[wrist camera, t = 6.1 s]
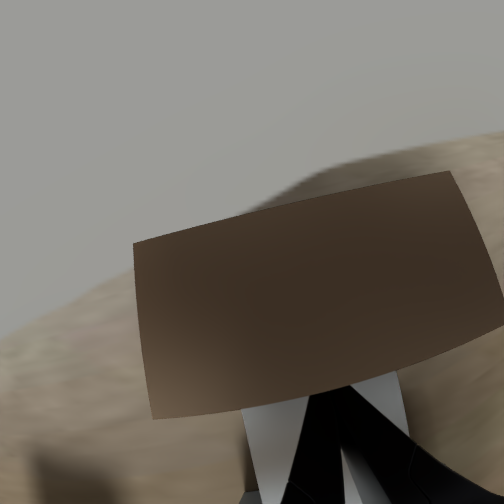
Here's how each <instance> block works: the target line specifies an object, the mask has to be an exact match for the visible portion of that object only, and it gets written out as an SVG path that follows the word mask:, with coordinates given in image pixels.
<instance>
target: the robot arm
mask: <svg viewBox="0 0 504 504" xmlns="http://www.w3.org/2000/svg"><path fill="white" fill-rule="evenodd" d="M416 446H417V447H416ZM341 450H342V453H343V455H344V458H345V460H346V463H347V465H348V468H349V470H350V473H351V476H352V478H353V481H354V483H355V486H356V488H357V491H358V493H359V496H360V498H361V501H362V503H363V504H504V496H500V495H497V494H494V493H492V492H489V491H487V490H486V489H484V488H482V487H480V486H478V485H477V484H475V483H473V482H471V481H470V480H468V479H466V478H465V477H463V476H461V475H460V474H458V473H456V472H455V471H453V470H451V469H450V468H448V467H447V466H445V465H444V464H442V463H441V462H439V461H438V460H437V459H436V458H434V457H433V456H432V455H430V454H429V453H428V452H427V451H425V450H424V449H423V448H422V447H421V446H420V445H417V443H416V442H415V441H413V440H412V439H411V438H410V437H409V436H408V435H406V434H405V433H404V432H403V431H402V430H401V429H399V428H398V427H397V426H396V425H395V424H394V423H393V422H391V421H390V420H389V419H388V418H387V417H386V416H385V415H383V414H382V413H381V412H380V411H379V410H378V409H377V408H375V407H374V406H373V405H372V404H371V403H370V402H369V401H367V400H366V399H365V398H364V397H363V396H362V395H361V394H360V393H358V392H357V391H356V390H355V389H354V388H353V387H352V386H351V385H348V386H344V387H341V388H337V389H333V390H330V391H326V392H322V393H318V394H314V395H310V396H309V398H308V402H307V407H306V411H305V415H304V420H303V424H302V428H301V432H300V436H299V440H298V444H297V448H296V452H295V455H294V459H293V463H292V467H291V470H290V474H289V477H288V482H287V484H286V487H285V491H284V494H283V497H282V500H281V503H280V504H345V489H344V477H343V465H342V454H341Z"/></svg>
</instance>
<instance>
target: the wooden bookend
mask: <svg viewBox="0 0 504 504" xmlns="http://www.w3.org/2000/svg"><path fill="white" fill-rule="evenodd" d="M133 252H134V271H135V286H136V299H137V310H138V321H139V330H140V339H141V347H142V355H143V362H144V370H145V376H146V383H147V389H148V395H149V401H150V407H151V412H152V418H153V419H167V418H178V417H188V416H197V415H205V414H213V413H220V412H227V411H234V410H240V409H241V410H242V415H243V420H244V425H245V429H246V434H247V438H248V443H249V448H250V452H251V456H252V461H253V465H254V470H255V474H256V478H257V483H258V487H259V491H260V495H261V499H262V503H263V504H280V503H281V500H282V497H283V494H284V491H285V487H286V484H287V482H288V477H289V474H290V470H291V467H292V463H293V459H294V455H295V452H296V448H297V444H298V440H299V436H300V432H301V428H302V424H303V420H304V415H305V411H306V407H307V402H308V398H309V396H310V395H314V394H318V393H322V392H326V391H330V390H333V389H337V388H341V387H344V386H348V385H351V386H352V387H353V388H354V389H355V390H356V391H357V392H358V393H360V394H361V395H362V396H363V397H364V398H365V399H366V400H367V401H369V402H370V403H371V404H372V405H373V406H374V407H375V408H377V409H378V410H379V411H380V412H381V413H382V414H383V415H385V416H386V417H387V418H388V419H389V420H390V421H391V422H393V423H394V424H395V425H396V426H397V427H398V428H399V429H401V430H402V431H403V432H404V433H405V434H406V435H408V436H409V430H408V425H407V420H406V414H405V409H404V404H403V399H402V395H401V390H400V385H399V381H398V377H397V372H396V370H399V369H402V368H404V367H407V366H410V365H413V364H415V363H418V362H421V361H423V360H426V359H429V358H431V357H434V356H436V355H439V354H441V353H444V352H446V351H448V350H451V349H453V348H456V347H458V346H460V345H462V344H465V343H467V342H469V341H471V340H474V339H476V338H478V337H480V336H482V335H484V334H486V333H489V332H491V331H493V330H495V329H497V328H499V327H501V326H503V325H504V297H503V294H502V291H501V288H500V285H499V282H498V279H497V276H496V273H495V270H494V268H493V265H492V262H491V259H490V257H489V254H488V252H487V249H486V247H485V244H484V242H483V239H482V237H481V235H480V232H479V230H478V228H477V225H476V223H475V221H474V219H473V216H472V214H471V212H470V210H469V208H468V206H467V204H466V202H465V200H464V197H463V195H462V193H461V191H460V190H459V188H458V186H457V184H456V182H455V180H454V178H453V176H452V174H451V172H450V171H444V172H439V173H433V174H428V175H423V176H417V177H412V178H407V179H402V180H397V181H392V182H387V183H382V184H377V185H372V186H367V187H363V188H358V189H353V190H348V191H344V192H339V193H335V194H330V195H325V196H321V197H316V198H312V199H308V200H303V201H299V202H294V203H290V204H286V205H281V206H277V207H273V208H269V209H265V210H260V211H256V212H252V213H248V214H244V215H240V216H236V217H232V218H228V219H224V220H220V221H216V222H212V223H208V224H204V225H200V226H196V227H192V228H189V229H185V230H182V231H177V232H173V233H170V234H166V235H162V236H159V237H155V238H151V239H148V240H144V241H140V242H137V243H134V244H133ZM409 437H410V436H409ZM341 454H342V465H343V477H344V489H345V504H363V503H362V501H361V498H360V496H359V493H358V491H357V488H356V486H355V483H354V481H353V478H352V476H351V473H350V470H349V468H348V465H347V463H346V460H345V458H344V455H343V453H342V450H341Z"/></svg>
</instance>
